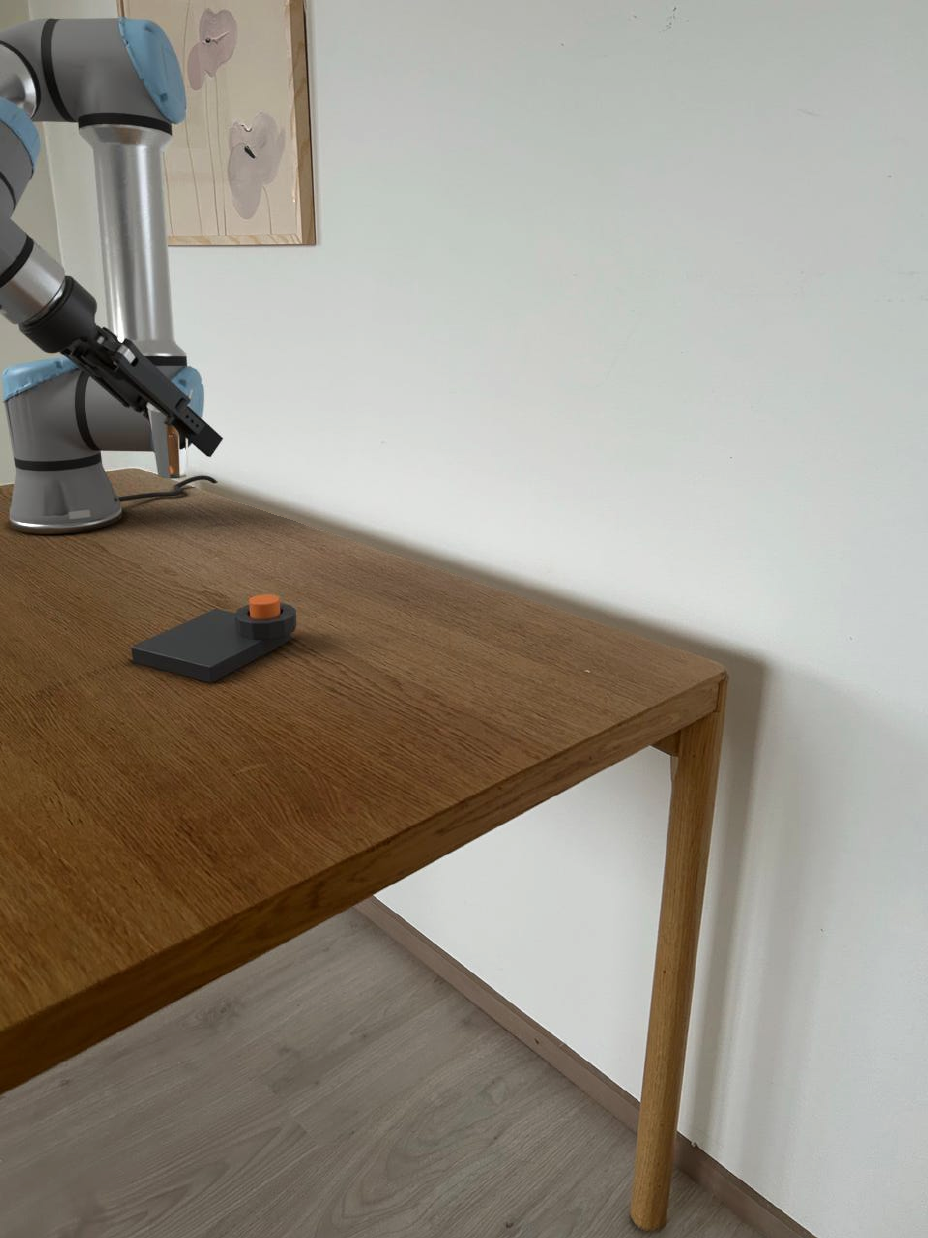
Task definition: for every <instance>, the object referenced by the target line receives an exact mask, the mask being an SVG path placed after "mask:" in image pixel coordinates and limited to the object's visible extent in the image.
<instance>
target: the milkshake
mask: <svg viewBox="0 0 928 1238" xmlns="http://www.w3.org/2000/svg"><path fill="white" fill-rule="evenodd" d="M192 391H193V390H191V392H190V394H189V398H190V397H191V394H192ZM188 406H189V404H188ZM147 411H148V416H149V422H150V427H151V433H152V439H153V446H154V452H155V453H154V452H153V453H154V458H155V464H156V470H157V471H156V472H157V477H159V478H162V479H168V480H175V479H176V480H177V479H183V478H186V477H187V476H188V469H189V468H188V466H189V462H188V461H189V460H188V459H189V450H188V449H189V447H188V439H187V438H186V437H184V436H183V435H182V434H181V433H180V432H179V431H178V430H177V429H175V428H174V427H173V426H172V425H170V426H168V425H166V424H165V423H164V421H165V420H166V418H167V417H166V416H165V415H164V414H163V413H161V412H160V411H159V410H158V409H156V408H155V407H154V406H153V405H151V404H150V403H149V402H148V403H147Z"/></svg>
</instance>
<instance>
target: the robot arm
mask: <svg viewBox="0 0 928 1238" xmlns="http://www.w3.org/2000/svg"><path fill="white" fill-rule="evenodd" d="M186 110H187V93H186V87H185V83H184V77H183V73H182V69H181V66H180V64H179V60H178V58H177V54H176V51H175V48H174V46H173V44H172V42H171V40H170V38H169V37H168V35H167V33H166V32H165V30H164V29H163V28H162V27H161V26H160V25H159V24H157V23H156V22H154V21H153V20H150V19H140V18H139V19H138V18H128V17H125V16H119V17H107V18H104V17H103V18H53V17H52V18H50V17H49V18H47V17H45V18H37V19H36V18H35V19H31V20H28V21H27V20H26V21H23V22H19V23H16V24H13V25H11V26H7V27H6V28H2V29H0V315H1V316H3V318H4V319H6V320H7V321H8V322H9V323H10V324H13V325H18V330H19V332H20V333H22V334H23V335H24V336H25V337H26V338H27V339H29V340H30V341H31V342H32V343H33V344H34V345H35V346H36V347H38V348H39V349H40V350H41V351H43V352H44V353H47V354H57V353H58V354H60V355H62V356H59V357H58V356H57V357H53V358H52V357H51V358H45V359H39V360H38V359H37V360H33V361H25V362H21V363H17V364H13V365H10V366H8V367H6V368H5V369H4V370H3V372H2V375H1V387H2V388H1V390H2V403H4V410H5V415H6V421H7V426H8V432H9V438H10V445H11V450H12V455H13V461H14V468H15V478H14V484H13V489H12V497H11V505H10V507H9V523H10V526H11V528H12V529H13V530H15V531H17V532H22V533H26V534H34V535H35V534H36V535H60V534H61V535H62V534H74V533H80V532H89V531H92V530H97V529H101V528H104V527H107V526H111V525H113V524H115V523H117V522H118V521H120V520H121V519H122V518H123V511H122V505H121V503H122V502H129V501H135V500H142V499H150V498H168V497H169V498H170V497H178V496H181V495H183V493H184V490H183V489H182V487H184V486H187V485H188V484H190V483H194V482H197V481H207V482H210V483H211V484H218V483H219V482H218V481H217V480H216V479H215V478H214V477H211V476H208V475H195V476H191V477H189V478H187V479H184V480H182V481H180V482H178V483H176V484H174V485H173V491H160V492H159V491H158V492H147V493H139V494H132V495H124V496H117V495H116V491H115V489H114V487H113V485H112V482H111V480H110V478H109V476H108V474H107V472H106V470H105V468H104V464H103V457H102V452H143V453H144V452H148V453H149V452H151V453H154V454H155V452H154V446H153V439H152V433H151V427H150V422H149V416H148V411H147V403H148V402H149V403H150V404H151V405H153V406H154V407H155V408H156V409H158V410H159V411H160V412H161V413H163V414H164V415H165V416H166V417H167V418H166V420H165V421H164V423H165V424H166V425H168V426H170V425H172V426H173V427H174V428H175V429H177V430H178V431H179V432H180V433H181V434H182V435H183V436H184V437H186V438H187V439H188V448H190V447H191V446H192V445H193V446H194V447H195V448H197V449H198V450H199V451H200V452H201V453H203V455H204V456H205V457H208V458H211V457H212V456H213V455H214V453H215V451H216V450H217V449H218V447H219V446H220V444H221V443H222V441H223V440H224V438H223V437H222V435H220V433H218V432H217V431H216V430H215V429H214V428H213V427H212V426H210V424H208V423H207V422H206V421H205V420H204V419H203V415H204V405H205V389H204V385H203V378H202V375H201V373H200V371H198V369H197V368H195V367H193V366H191V365H188V356H187V353H186V351H184V349H183V348H181V347H180V346H179V345H178V344H177V342H176V341H175V330H174V314H173V313H174V312H173V300H172V286H171V285H172V284H171V270H170V257H169V256H170V255H169V242H168V226H167V212H166V196H165V183H164V182H165V181H164V168H163V153H164V151H165V150H166V149H167V148H168V147H169V146H170V145H171V144H172V143H173V140H174V139H173V138H174V137H173V124H174V125H179V124H180V123H183V122H184V120H185V119H186V116H187V115H186V114H187V112H186ZM38 122H48V123H50V122H51V123H53V122H54V123H75V124H78V125H77V126H78V135H80V137H82V139H83V140H84V141H85V142H86V143H87V144H88V145H89V146H90V147H91V149H92V154H93V166H94V167H93V168H94V178H95V179H94V181H95V189H96V202H97V215H98V225H99V226H98V227H99V237H100V248H101V249H100V250H101V261H102V273H103V274H102V275H103V287H104V295H105V307H106V308H105V309H106V317H107V318H106V319H107V321H106V322H107V327H106V326H103V327H101V326H100V325H97V323H96V320H95V319H96V313H97V312H98V302H97V300H96V298H95V297H94V295H92V294H91V293H90V292H89V291H88V290H87V289H86V288H85V287H83V286H82V284H80V283H79V282H78V281H77V279H75V278H74V277H73V276H71V275H66V271H65V268H64V266H62V264H60V263H59V262H58V261H57V260H56V259H55V258H54V257H53V256H52V255H51V254H50V253H48V252H47V251H46V250H45V249H44V248H43V247H42V246H41V245H40V244H39V243H38V242H37V241H36V240H35V239H33V238H32V237H31V236H29V235H28V234H27V232H26V231H24V230H23V228H21V227H20V226H19V225H18V224H17V223H16V222H15V221H14V220H13V219H12V216H13V214H14V212H15V210H16V209H17V206H18V204H19V202H20V200H21V198H22V196H23V195H24V192H25V190H26V188H27V187H28V184H29V182H30V181H31V180H32V179H33V177H34V174H35V171H36V168H35V167H36V164H37V161H38V158H39V156H40V154H41V137H40V135H39V131H38V129H37V127H36V125H35V124H34V123H38ZM191 390H193V391H192V394H191V397H190V398H189V394H190V392H191ZM188 404H189V406H188Z"/></svg>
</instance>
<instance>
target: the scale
mask: <svg viewBox="0 0 928 1238" xmlns="http://www.w3.org/2000/svg"><path fill="white" fill-rule="evenodd" d="M280 613H281V614H280V615H279V616H277V617H273V618H268V619H257V618H253V617H251V616H250V606H249V604H247V605H245V606H243V607H240V608H238V609H237V610H236V612H234V611H233V612H232V611H227V610H223V609H219V608H214V609H212V610H209V611H207V612H205V613H202V614H200V615H199V616H196V617H194V618H192V619H190V620H187V621H185V622H183V623H181V624H178V625H175V626H174V627H172V628H169V629H167V630H165V631H163V632H160V633H158V634H156V635H154V636H151V637H149V638H148V639H145V640H143V641H141V642H138V643H136V644H134V645H131V647H130V650H131V657H132V663H135V664H137V665H141V666H144V667H149V668H152V669H153V668H154V669H156V670H160V671H164V672H167V673H171V674H176V675H179V676H183V677H187V678H191V679H195V680H197V681H198V680H199V681H201V682H206V683H209V684H213V683H215V682H217V681H218V680H220V679H222V678H224V677H226V676H228V675H229V674H231V673H233V672H235V671H237V670H239V669H241V668H243V667H244V666H246V665H247V664H250V663H252V662H253V661H256V660H257V659H259V658H261V657H263V656H264V655H266V654H268V653H270V652H272V651H274V650H276V649H278V648H280V647H281V646H283V645H285V644H288V642H290V641H292V633H294V632H295V630H296V628H297V626H298V625H297V610H296V608H295V607H294V606H292V605H291V604H288V603H283V602H280Z"/></svg>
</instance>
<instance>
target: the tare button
mask: <svg viewBox="0 0 928 1238" xmlns="http://www.w3.org/2000/svg"><path fill="white" fill-rule="evenodd" d="M280 603H281V600H280V597H279V596H278V595H275V594H271V593H270V594H267V593H264V594H257V595H254V596H252V597H250V598H249V599H248V605H249V606H250V616H251V617H253V618H257V619H268V618H273V617H277V616H279V615H280V614H281V613H280Z"/></svg>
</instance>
